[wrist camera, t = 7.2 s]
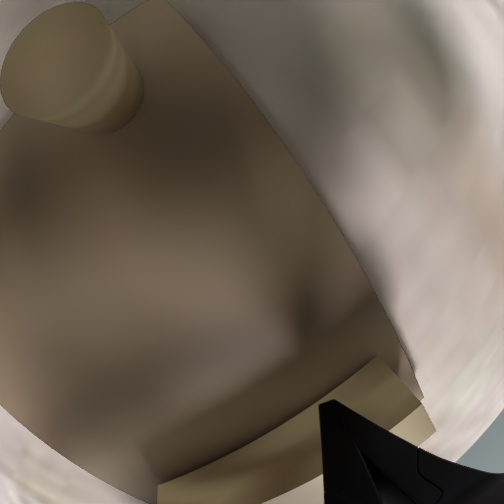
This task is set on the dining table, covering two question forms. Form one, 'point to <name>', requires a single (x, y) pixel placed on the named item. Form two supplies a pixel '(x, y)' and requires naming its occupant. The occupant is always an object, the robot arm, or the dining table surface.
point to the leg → (301, 447)
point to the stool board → (162, 255)
